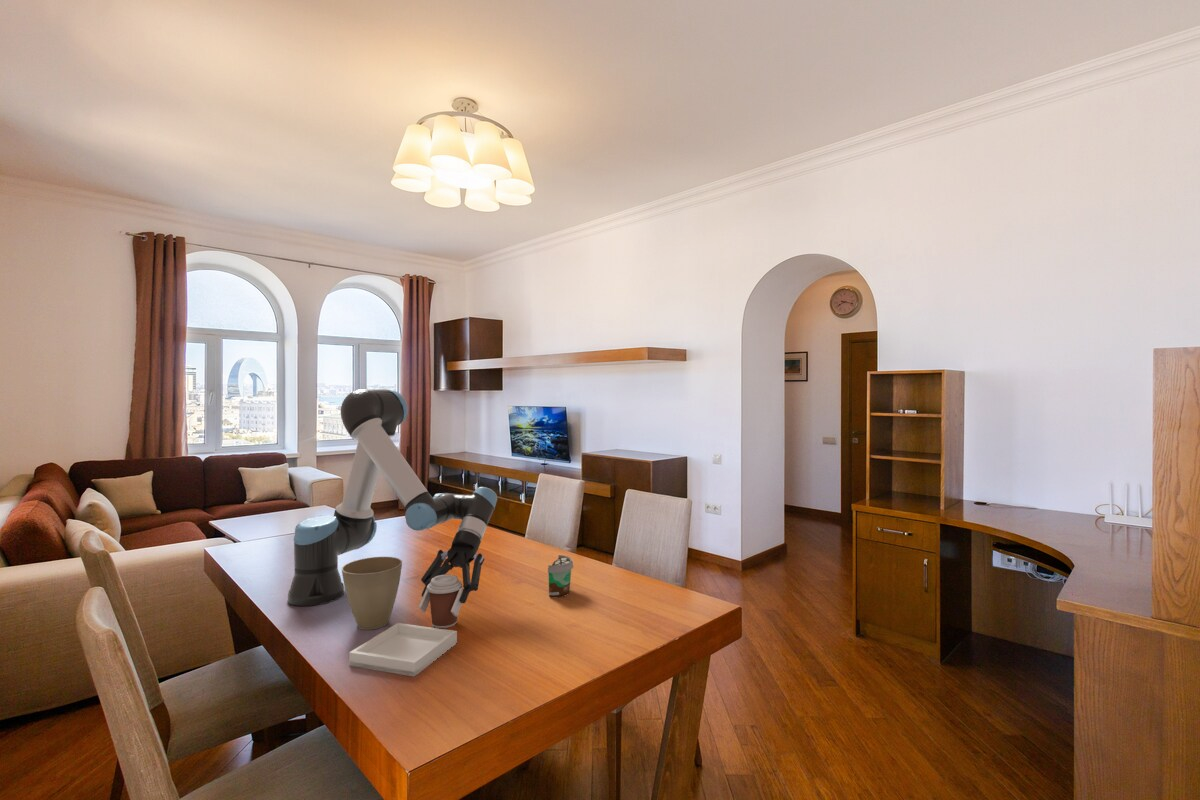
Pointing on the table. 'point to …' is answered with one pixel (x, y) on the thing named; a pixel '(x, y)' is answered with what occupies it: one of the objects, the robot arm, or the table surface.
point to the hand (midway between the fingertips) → (437, 611)
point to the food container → (560, 576)
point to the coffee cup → (443, 599)
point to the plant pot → (372, 589)
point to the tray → (403, 649)
